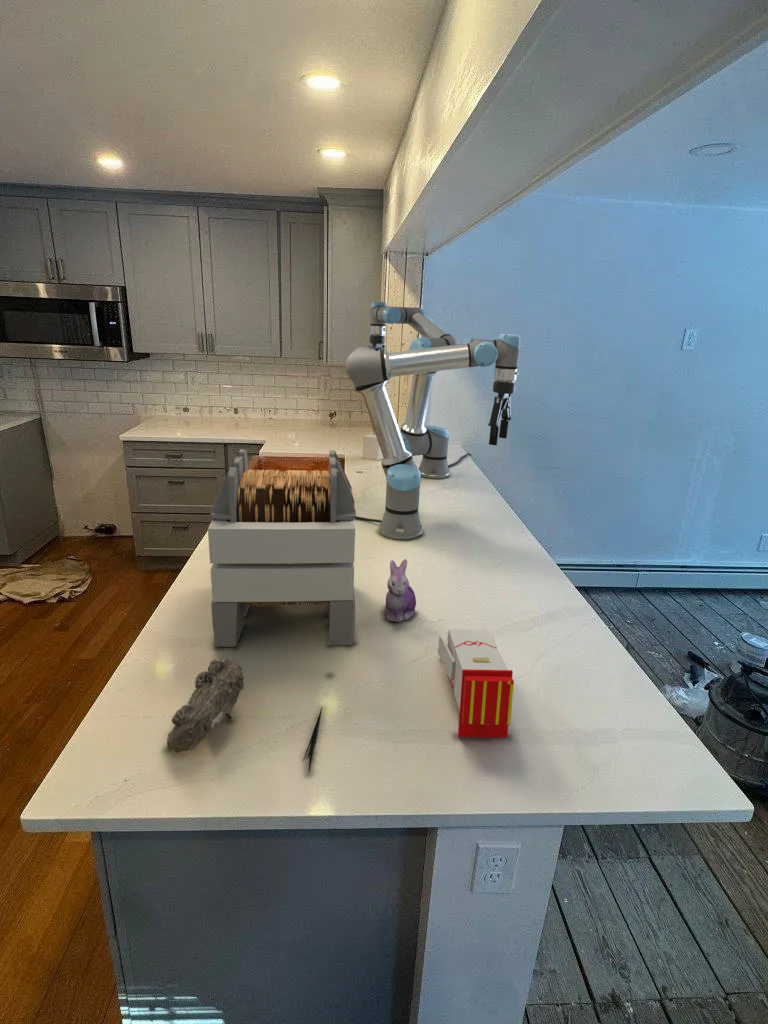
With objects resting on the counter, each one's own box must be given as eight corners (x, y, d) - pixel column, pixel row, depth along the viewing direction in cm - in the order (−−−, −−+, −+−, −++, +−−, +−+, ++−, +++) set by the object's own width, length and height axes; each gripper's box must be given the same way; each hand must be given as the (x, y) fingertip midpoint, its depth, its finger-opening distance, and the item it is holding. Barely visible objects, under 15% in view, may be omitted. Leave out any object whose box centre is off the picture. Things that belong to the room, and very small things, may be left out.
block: (362, 457, 298) (363, 436, 294) (368, 455, 303) (368, 434, 300) (378, 460, 295) (379, 438, 291) (383, 458, 300) (384, 436, 296)
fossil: (192, 660, 117) (244, 628, 112) (224, 691, 120) (276, 661, 115) (142, 746, 98) (202, 712, 93) (182, 779, 101) (242, 748, 96)
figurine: (392, 627, 141) (395, 572, 136) (374, 608, 149) (376, 556, 144) (425, 619, 145) (429, 566, 140) (405, 601, 154) (408, 550, 149)
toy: (488, 613, 130) (523, 677, 101) (484, 667, 133) (517, 744, 104) (435, 612, 130) (455, 676, 101) (432, 666, 133) (451, 743, 103)
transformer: (232, 581, 160) (225, 440, 147) (348, 580, 164) (351, 442, 150) (211, 649, 129) (199, 477, 115) (355, 646, 132) (360, 479, 119)
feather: (331, 679, 122) (336, 673, 122) (307, 777, 96) (313, 769, 95) (324, 675, 122) (329, 669, 121) (298, 772, 95) (304, 764, 95)
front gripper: (506, 385, 184) (499, 449, 191) (523, 378, 205) (516, 436, 212) (484, 383, 187) (477, 446, 194) (503, 376, 208) (496, 434, 215)
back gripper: (373, 336, 266) (371, 382, 273) (395, 334, 287) (392, 377, 294) (358, 335, 268) (357, 380, 276) (381, 334, 290) (380, 376, 297)
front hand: (497, 441), depth 203 cm, fingers open, 13 cm apart
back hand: (375, 379), depth 285 cm, fingers open, 13 cm apart
